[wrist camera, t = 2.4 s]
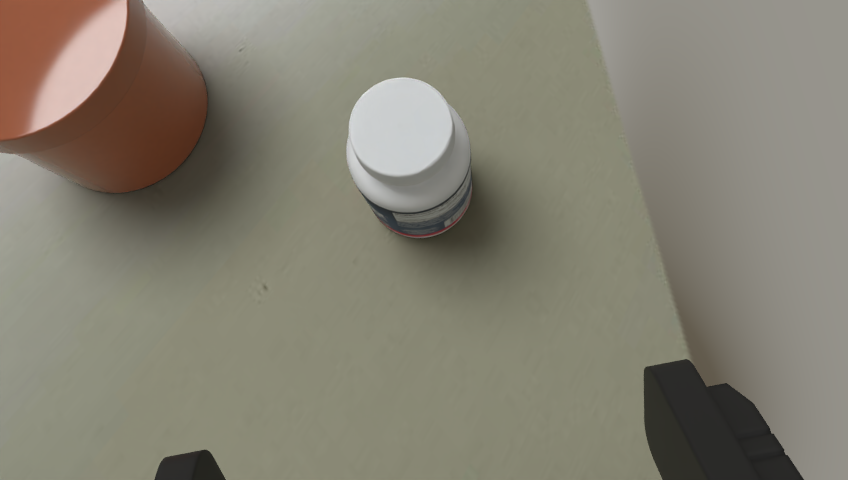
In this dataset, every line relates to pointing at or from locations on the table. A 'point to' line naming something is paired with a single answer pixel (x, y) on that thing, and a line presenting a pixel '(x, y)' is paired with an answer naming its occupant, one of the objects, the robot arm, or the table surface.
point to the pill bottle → (410, 157)
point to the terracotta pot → (97, 92)
